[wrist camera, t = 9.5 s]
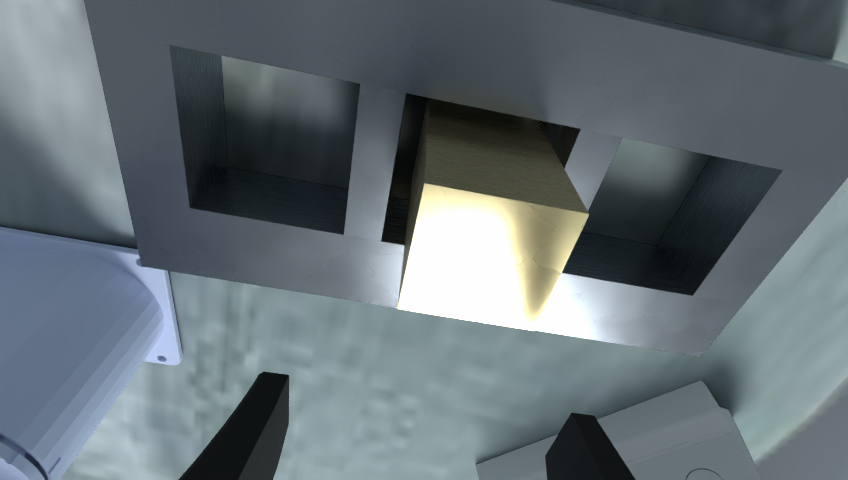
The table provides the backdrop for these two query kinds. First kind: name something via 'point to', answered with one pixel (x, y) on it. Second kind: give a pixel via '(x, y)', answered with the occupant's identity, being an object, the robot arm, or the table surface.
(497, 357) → the table surface
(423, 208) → the brass block
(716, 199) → the grey block holder
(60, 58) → the table surface
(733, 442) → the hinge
